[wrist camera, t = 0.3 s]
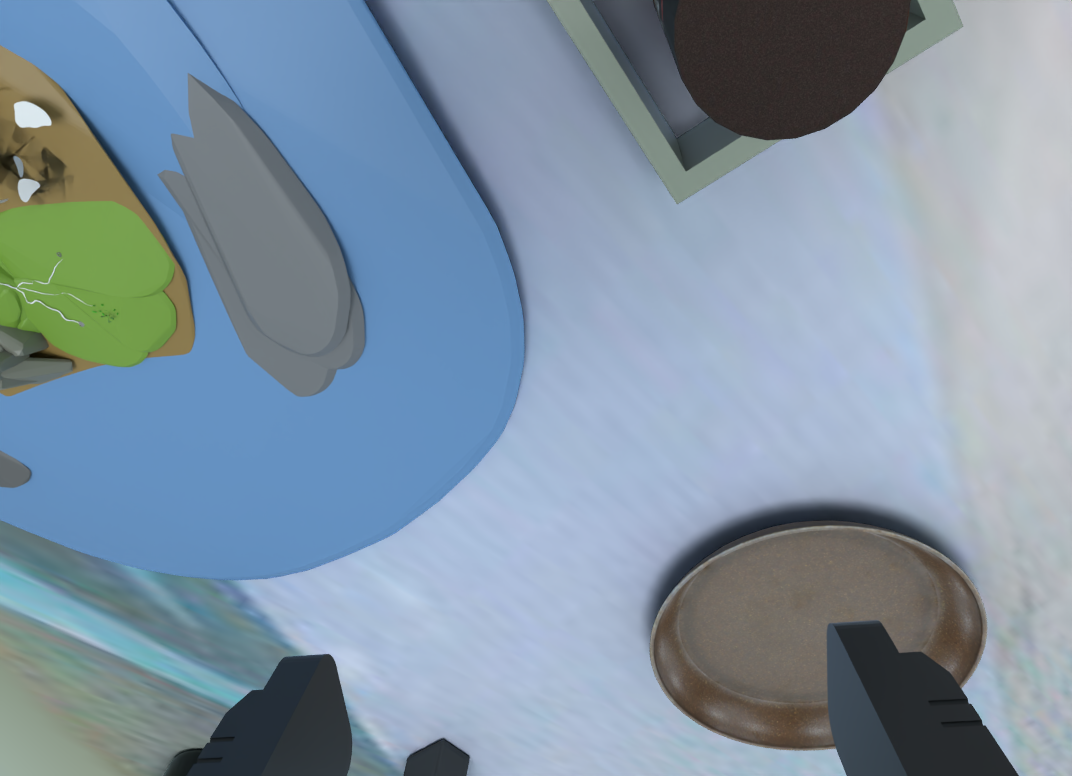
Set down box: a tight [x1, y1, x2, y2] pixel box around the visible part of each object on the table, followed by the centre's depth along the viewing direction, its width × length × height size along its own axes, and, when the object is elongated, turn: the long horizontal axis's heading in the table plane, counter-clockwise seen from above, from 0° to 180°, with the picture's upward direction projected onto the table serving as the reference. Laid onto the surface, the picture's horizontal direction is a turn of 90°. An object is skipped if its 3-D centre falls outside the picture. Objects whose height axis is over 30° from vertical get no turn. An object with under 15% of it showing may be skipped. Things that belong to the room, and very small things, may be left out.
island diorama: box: [0, 0, 525, 580], centre depth 40 cm, size 45×43×12 cm
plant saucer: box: [650, 520, 987, 751], centre depth 52 cm, size 21×21×3 cm
